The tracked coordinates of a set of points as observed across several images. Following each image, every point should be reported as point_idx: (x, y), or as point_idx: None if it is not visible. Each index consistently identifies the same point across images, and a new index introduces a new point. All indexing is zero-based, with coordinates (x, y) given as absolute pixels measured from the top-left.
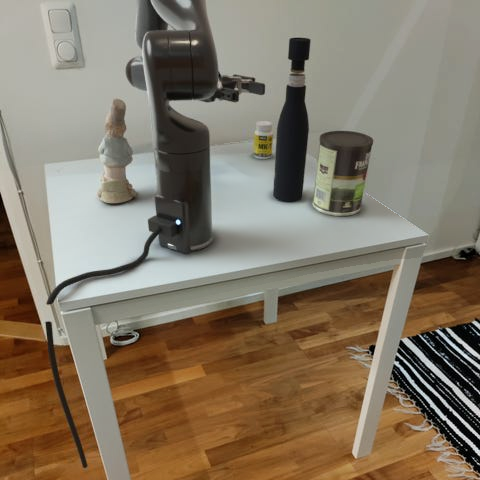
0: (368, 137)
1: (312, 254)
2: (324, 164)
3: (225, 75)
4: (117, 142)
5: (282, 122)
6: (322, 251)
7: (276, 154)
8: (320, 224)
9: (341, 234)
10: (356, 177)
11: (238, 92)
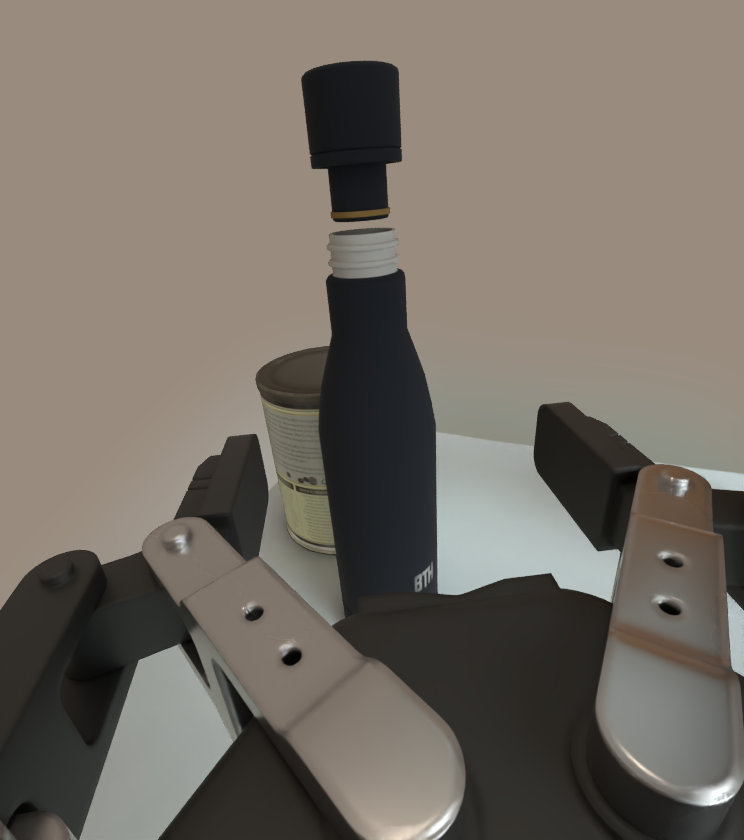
0: (281, 359)
1: (533, 447)
2: None
3: (367, 722)
4: None
5: (429, 395)
6: (511, 445)
7: (432, 509)
8: (443, 488)
9: (440, 458)
10: None
11: (541, 410)
